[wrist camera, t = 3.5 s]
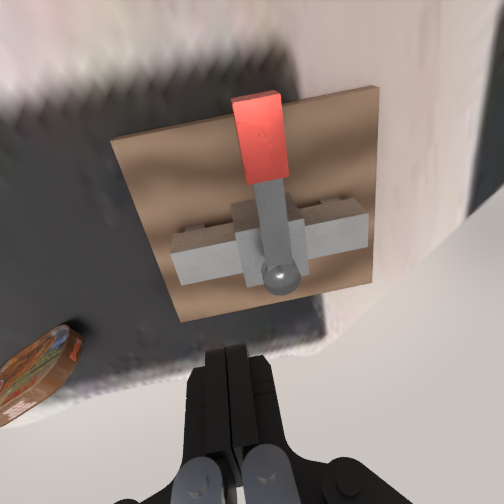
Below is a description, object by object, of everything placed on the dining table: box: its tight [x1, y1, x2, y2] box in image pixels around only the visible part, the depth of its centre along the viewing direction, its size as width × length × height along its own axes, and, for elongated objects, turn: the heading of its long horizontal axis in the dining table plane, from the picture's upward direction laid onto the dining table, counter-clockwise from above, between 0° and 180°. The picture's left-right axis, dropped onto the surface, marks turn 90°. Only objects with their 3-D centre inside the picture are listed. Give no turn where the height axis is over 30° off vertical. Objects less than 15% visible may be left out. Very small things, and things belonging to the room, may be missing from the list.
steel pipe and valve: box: [170, 192, 369, 288], centre depth 32 cm, size 6×18×6 cm, turn 100°
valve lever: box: [230, 90, 301, 296], centre depth 25 cm, size 15×3×4 cm, turn 10°
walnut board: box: [110, 86, 379, 322], centre depth 35 cm, size 22×24×2 cm
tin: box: [0, 324, 84, 427], centre depth 39 cm, size 15×3×8 cm, turn 124°
